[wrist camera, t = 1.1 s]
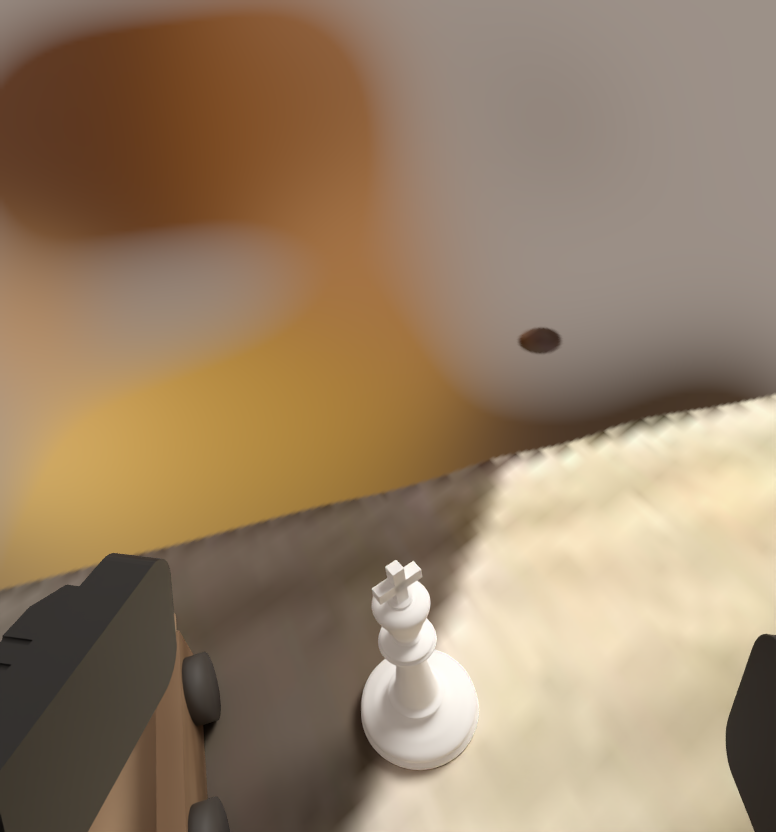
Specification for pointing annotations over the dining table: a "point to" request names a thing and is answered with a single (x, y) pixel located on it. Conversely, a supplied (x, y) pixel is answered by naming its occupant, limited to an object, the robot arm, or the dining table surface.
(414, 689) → the chess piece
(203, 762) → the truck bed
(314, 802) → the dining table surface
